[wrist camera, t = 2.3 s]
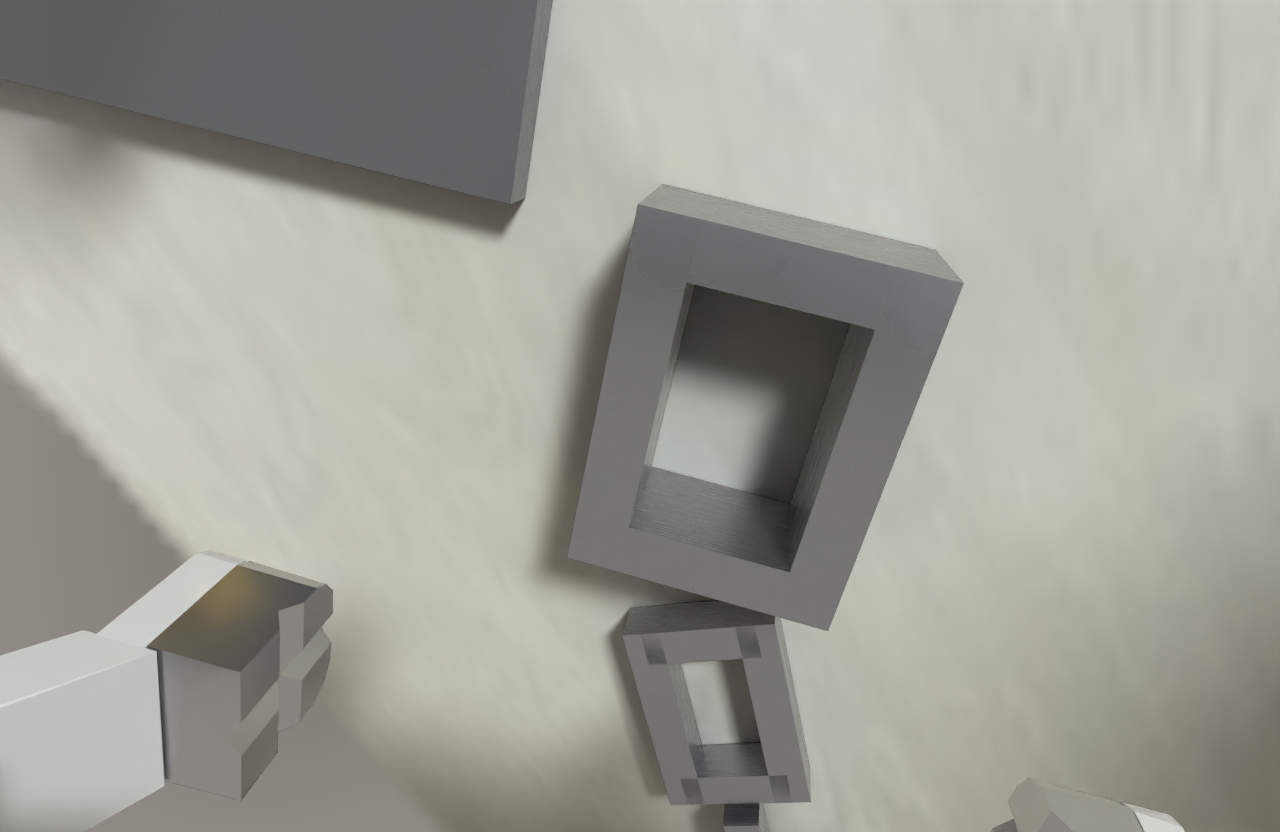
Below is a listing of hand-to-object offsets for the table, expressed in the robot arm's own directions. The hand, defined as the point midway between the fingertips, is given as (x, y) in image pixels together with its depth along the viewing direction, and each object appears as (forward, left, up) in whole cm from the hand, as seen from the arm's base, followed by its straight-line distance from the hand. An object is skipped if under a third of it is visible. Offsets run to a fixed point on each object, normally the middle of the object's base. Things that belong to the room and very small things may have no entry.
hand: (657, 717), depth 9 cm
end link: (0, 0, -11) cm, 11 cm away
